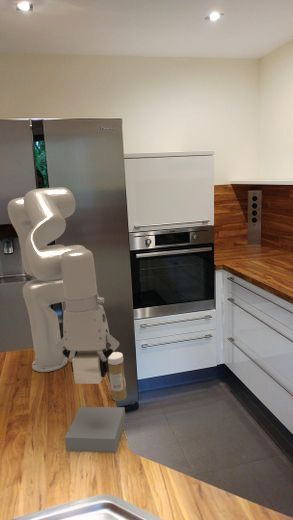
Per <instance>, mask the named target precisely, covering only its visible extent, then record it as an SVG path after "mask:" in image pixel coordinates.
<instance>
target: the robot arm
mask: <svg viewBox="0 0 293 520" xmlns="http://www.w3.org/2000/svg"><path fill="white" fill-rule="evenodd" d="M75 211H76V199H75V197H74V194H73V192H72V191H71V190H70V189H68V188H67V187H62V186H60V187H46V188H44V187H43V188H36V189H31V190H29V191H28V192H26V193H25V195H24V196H21V197H17V198H14V199H11V200H10V201H9V202H8V204H7V213H8V218H9V220H10V222H11V225H12V227H13V228H14V230H15V232H16V234H17V237H18V241H19V248H20V253H21V259H22V265H23V269H24V272H25V274H27V275H28V276H31V277H33V276H34V277H35V278H36V279H32V280H29V281H27V282H25V284H24V285H23V287H22V295H23V299H24V302H25V304H26V308H27V313H28V317H29V324H30V331H31V338H32V344H33V350H34V356H35V358H34V359H35V360H33V362H31V368H32V370H33V371H35V372H39V373H49V372H54V371H57V370H60V369H62V368H63V367H64V366H66V365H67V363H68V362H70V366H71V373H74V371H73V364H72V359H73V358H74V357H75V355H76V354H77V353H78V351H97V353H98V355H99V356H100V358H101V361H100V370H101V377H103V378H105V377H106V375H107V373H109V364H108V357H109V356H110V355H111V354H112V353H113V352H116V350H117V349H118V348H119V347H120V342H119V341H118V340H117V339H116V338H115V337H113V335H112V334H110V328H109V325H108V319H107V316H106V312H105V309H104V306H103V305H102V304H104V303H105V297H104V296H100V295H99V293H98V284H97V275H96V268H95V258H94V253H93V252H92V251H91V250H89V249H87V248H86V247H85V246H84V245H81V244H73V245H66V246H65V245H64V244H53V245H48V244H50V243H52V242H54V241H56V240H57V239H59V238H60V237H61V236H62V235H63V234H64V233H65V230H66V227H67V223H66V222H67V221H66V218H69V217H70V216H72V215H74V212H75ZM62 302H65V303H64V304H65V309H64V310H63V317H62V318H63V319H62V320H63V321H62V322H63V323H62V334H63V337H62V338H61V330H60V322H59V317H58V314H57V312H56V311H55V310H53V308H51V307H50V305H54V304H59V303H62ZM108 343H109V345H110V347H108V349H107V344H108Z"/></svg>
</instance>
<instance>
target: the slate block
mask: <svg viewBox="0 0 293 520" xmlns="http://www.w3.org/2000/svg"><path fill="white" fill-rule="evenodd" d="M125 423H126V410H125V407H124V406H122V407H121V406H120V407H119V406H115V407H113V406H80V407H79V408H78V411H77V413H76V415H75V417H74V418H73V421H72V422H71V424H70V427H69V428H68V430H67V432H66V434H65V436H64V441H65V442H64V443H65V450H66V452H80V453H81V452H83V453H84V452H86V453H113V454H114V453H115V454H116V453H117V450H118V447H119V443H120V441H121V440H120V439H121V437H122V433H123V430H124V427H125V426H124V425H125Z"/></svg>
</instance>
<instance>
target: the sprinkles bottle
mask: <svg viewBox="0 0 293 520" xmlns="http://www.w3.org/2000/svg"><path fill="white" fill-rule="evenodd" d="M108 366H109V370H108V373H109V375H108V376H109V383H110V389H111V390H110V391H111V399H112V400H113V401H116V402H121V401H123V400H126V398H128V393H127V387H126V386H127V385H126V384H127V383H126V376H125V368H124V355H123V352H119V351H114V352H113V353H112V354H111V355H110V356H109V357H108Z"/></svg>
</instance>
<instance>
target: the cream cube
mask: <svg viewBox="0 0 293 520" xmlns="http://www.w3.org/2000/svg"><path fill="white" fill-rule="evenodd" d="M100 361H101V358H100V356H99V355H98V353H97V351H78V353H77V354H76V355H75V357H74V358H73V359H72V364H73V371H74V372H73V377H74V384H77V385H78V384H81V385H82V384H83V385H84V384H87V385H89V384H92V385H95V384H96V385H97V384H98V385H99V384H101V382H102V380H103V379H104V377H101V370H100Z"/></svg>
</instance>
